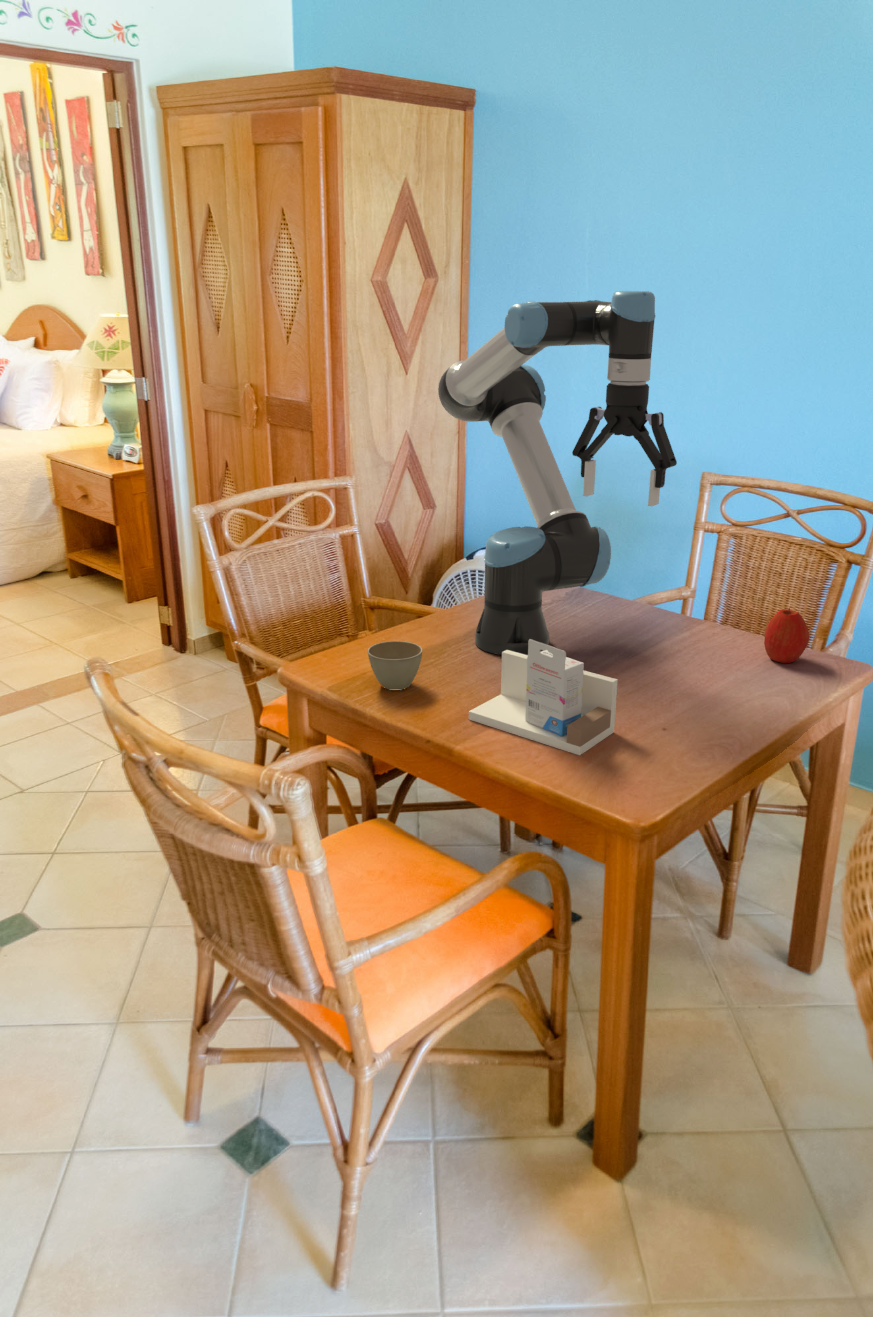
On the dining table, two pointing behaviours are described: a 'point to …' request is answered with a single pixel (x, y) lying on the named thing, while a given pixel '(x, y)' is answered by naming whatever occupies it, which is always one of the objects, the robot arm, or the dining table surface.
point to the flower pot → (395, 663)
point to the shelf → (511, 718)
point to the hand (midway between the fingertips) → (620, 500)
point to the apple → (786, 636)
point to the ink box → (552, 688)
